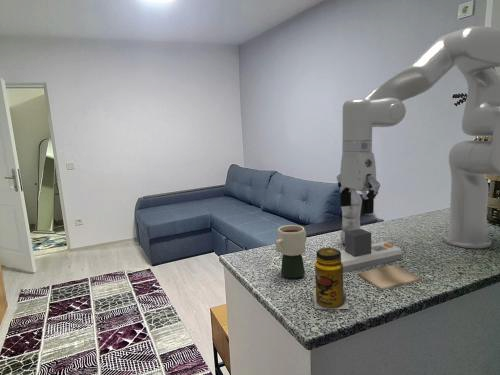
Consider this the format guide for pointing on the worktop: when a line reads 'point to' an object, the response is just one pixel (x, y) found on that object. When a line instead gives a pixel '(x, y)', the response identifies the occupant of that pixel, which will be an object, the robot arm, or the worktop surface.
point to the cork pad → (388, 277)
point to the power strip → (371, 257)
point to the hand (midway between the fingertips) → (356, 209)
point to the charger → (358, 242)
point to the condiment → (329, 280)
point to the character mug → (291, 249)
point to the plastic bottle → (351, 214)
